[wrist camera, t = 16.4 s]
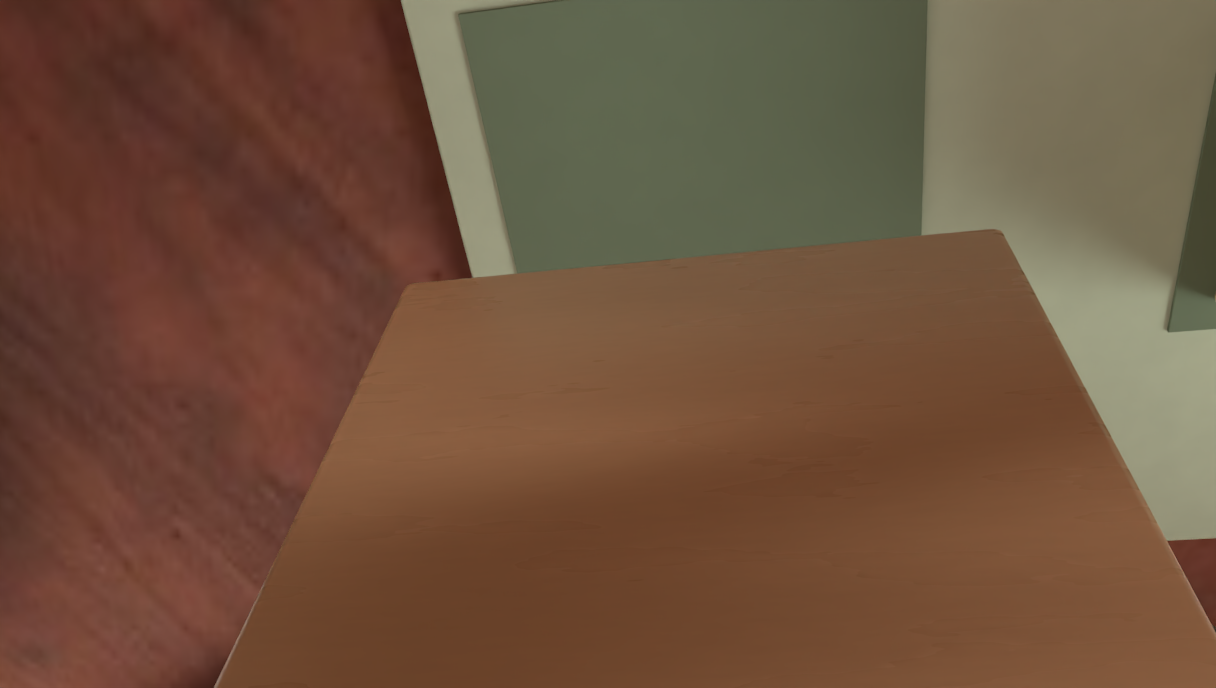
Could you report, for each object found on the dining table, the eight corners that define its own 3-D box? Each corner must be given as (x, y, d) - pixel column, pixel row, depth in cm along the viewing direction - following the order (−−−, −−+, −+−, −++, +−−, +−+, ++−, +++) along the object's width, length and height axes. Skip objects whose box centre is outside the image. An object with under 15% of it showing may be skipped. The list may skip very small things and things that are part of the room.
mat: (2163, -763, 8) (2234, -784, 8) (1540, 504, 16) (1561, 525, 15) (309, -393, 10) (294, -395, 10) (550, 555, 18) (547, 574, 18)
